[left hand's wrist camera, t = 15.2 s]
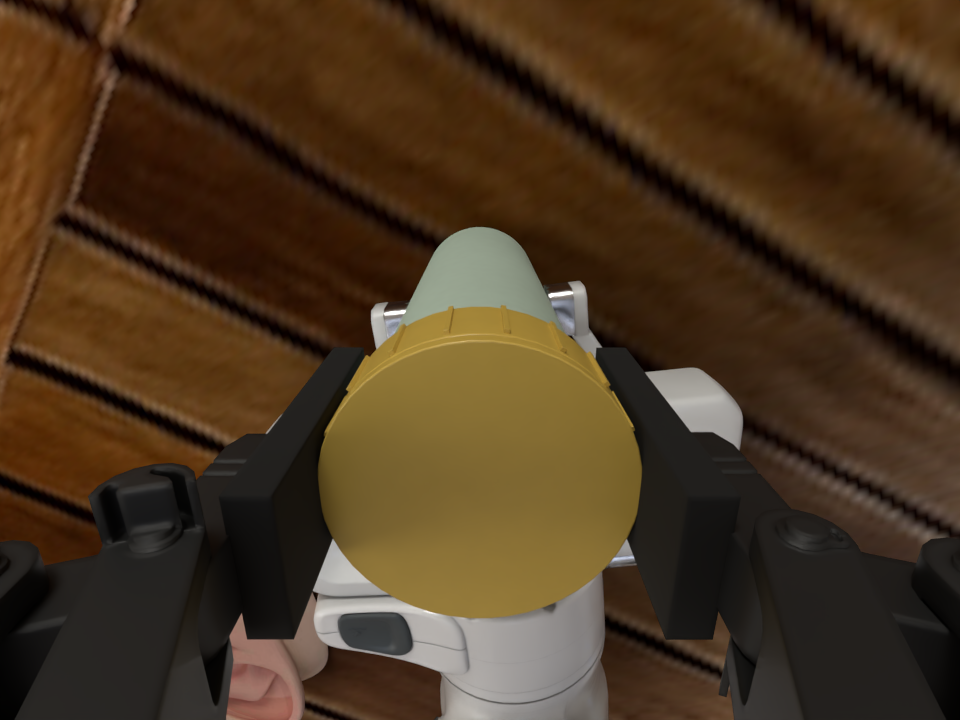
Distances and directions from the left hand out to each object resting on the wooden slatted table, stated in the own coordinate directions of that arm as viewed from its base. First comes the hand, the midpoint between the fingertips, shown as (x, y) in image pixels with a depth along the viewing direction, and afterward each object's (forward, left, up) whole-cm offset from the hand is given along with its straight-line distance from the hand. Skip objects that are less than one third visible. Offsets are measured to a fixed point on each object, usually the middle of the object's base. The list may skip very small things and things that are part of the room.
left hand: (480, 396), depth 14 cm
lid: (0, 0, +4) cm, 4 cm away
